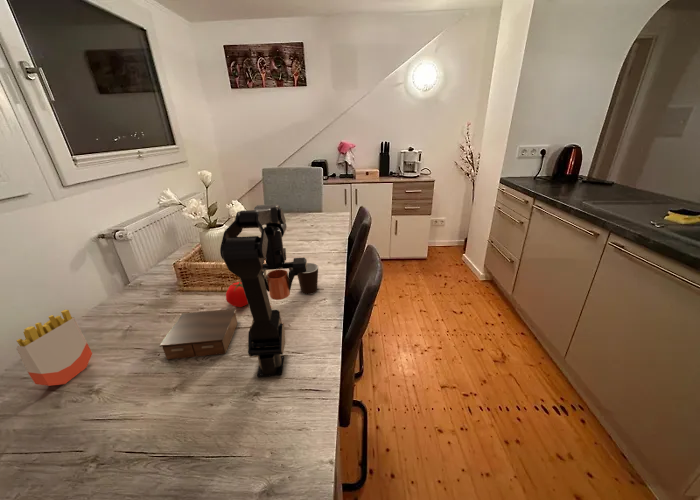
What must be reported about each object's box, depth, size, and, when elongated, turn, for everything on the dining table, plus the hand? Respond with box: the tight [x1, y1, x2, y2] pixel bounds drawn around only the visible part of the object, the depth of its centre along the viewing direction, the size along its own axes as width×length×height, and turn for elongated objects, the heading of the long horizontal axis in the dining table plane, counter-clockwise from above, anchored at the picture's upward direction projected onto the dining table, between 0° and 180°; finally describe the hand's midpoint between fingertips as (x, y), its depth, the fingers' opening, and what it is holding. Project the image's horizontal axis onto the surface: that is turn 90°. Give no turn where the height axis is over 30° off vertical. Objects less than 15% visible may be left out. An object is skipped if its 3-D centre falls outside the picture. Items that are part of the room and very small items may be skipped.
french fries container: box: [16, 309, 93, 387], centre depth 72 cm, size 5×11×18 cm, turn 171°
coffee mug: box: [296, 262, 319, 295], centre depth 111 cm, size 12×9×10 cm
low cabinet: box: [159, 308, 238, 360], centre depth 85 cm, size 15×17×6 cm
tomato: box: [225, 280, 249, 308], centre depth 103 cm, size 9×10×8 cm
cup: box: [266, 269, 291, 301], centre depth 90 cm, size 6×6×8 cm
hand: (279, 290), depth 91 cm, fingers closed on cup, 6 cm apart
